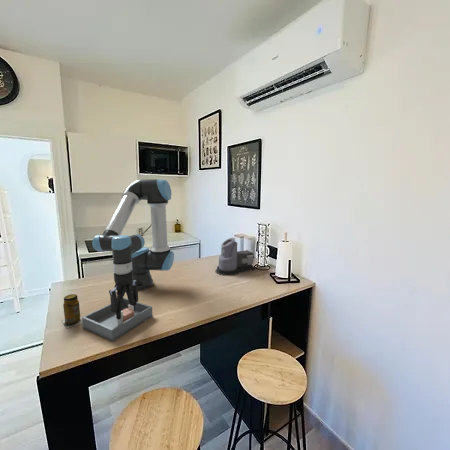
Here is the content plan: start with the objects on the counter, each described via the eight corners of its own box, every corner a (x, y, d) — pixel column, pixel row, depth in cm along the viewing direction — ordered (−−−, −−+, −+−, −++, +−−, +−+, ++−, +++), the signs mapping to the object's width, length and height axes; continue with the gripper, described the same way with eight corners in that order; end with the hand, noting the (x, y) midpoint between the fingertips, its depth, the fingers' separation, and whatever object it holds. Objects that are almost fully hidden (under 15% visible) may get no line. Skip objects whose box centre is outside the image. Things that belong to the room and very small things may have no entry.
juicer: (220, 277, 166) (221, 242, 162) (211, 269, 181) (211, 237, 177) (258, 270, 179) (259, 238, 175) (246, 264, 194) (247, 234, 190)
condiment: (79, 315, 117) (76, 291, 115) (85, 322, 111) (82, 297, 109) (61, 321, 112) (58, 296, 110) (66, 328, 106) (63, 303, 104)
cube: (117, 323, 108) (117, 312, 107) (127, 318, 112) (126, 308, 111) (125, 326, 106) (124, 316, 105) (134, 321, 110) (134, 310, 109)
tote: (82, 327, 107) (81, 317, 106) (124, 306, 126) (123, 297, 125) (112, 341, 98) (111, 330, 97) (152, 316, 116) (152, 306, 115)
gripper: (110, 280, 96) (114, 334, 99) (145, 267, 111) (147, 314, 115) (98, 276, 99) (102, 329, 103) (133, 264, 115) (136, 310, 118)
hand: (126, 321), depth 109 cm, fingers closed on cube, 5 cm apart
